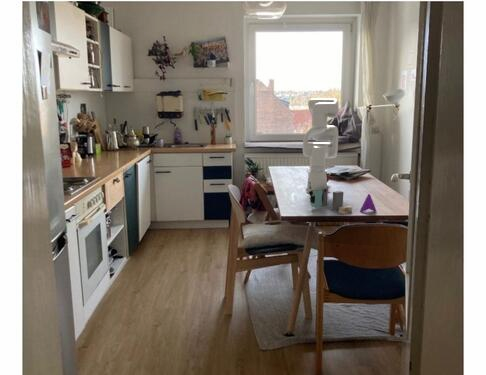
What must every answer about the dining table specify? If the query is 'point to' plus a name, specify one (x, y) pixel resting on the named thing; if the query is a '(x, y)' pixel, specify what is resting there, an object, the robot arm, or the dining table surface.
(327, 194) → the tile
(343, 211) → the stop block
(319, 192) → the teal tile
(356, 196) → the dining table surface
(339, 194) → the tile
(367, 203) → the arrowhead
